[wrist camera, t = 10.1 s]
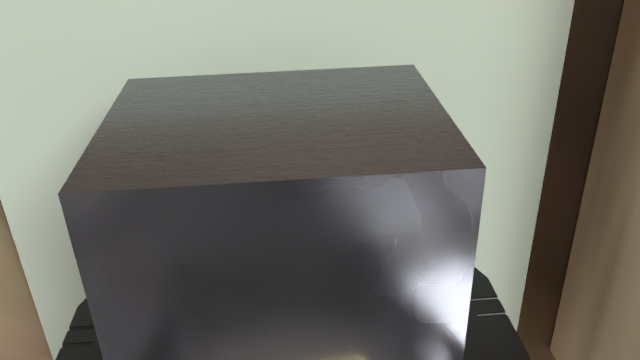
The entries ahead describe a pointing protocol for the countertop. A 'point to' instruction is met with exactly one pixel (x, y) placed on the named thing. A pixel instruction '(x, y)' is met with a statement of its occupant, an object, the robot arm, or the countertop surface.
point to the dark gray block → (277, 218)
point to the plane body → (608, 222)
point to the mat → (269, 56)
